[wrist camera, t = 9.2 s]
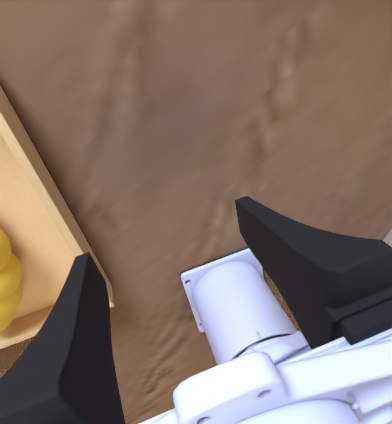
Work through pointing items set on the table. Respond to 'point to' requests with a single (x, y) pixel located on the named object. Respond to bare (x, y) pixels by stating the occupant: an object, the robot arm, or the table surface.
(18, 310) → the tray
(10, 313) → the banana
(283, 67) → the table surface
